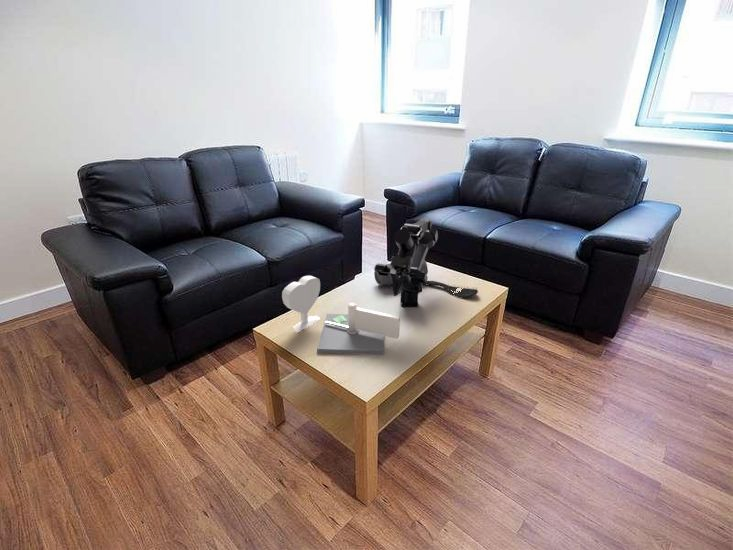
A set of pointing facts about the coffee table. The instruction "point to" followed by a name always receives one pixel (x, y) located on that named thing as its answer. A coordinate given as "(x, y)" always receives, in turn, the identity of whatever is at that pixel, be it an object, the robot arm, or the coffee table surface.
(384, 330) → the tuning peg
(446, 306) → the coffee table surface
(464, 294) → the hairbrush
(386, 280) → the bluetooth speaker
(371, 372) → the coffee table surface
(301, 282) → the heart sculpture
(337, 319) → the grey flat panel
